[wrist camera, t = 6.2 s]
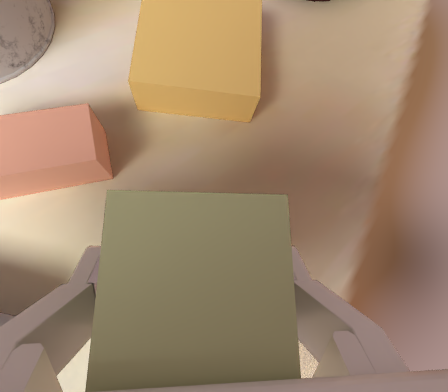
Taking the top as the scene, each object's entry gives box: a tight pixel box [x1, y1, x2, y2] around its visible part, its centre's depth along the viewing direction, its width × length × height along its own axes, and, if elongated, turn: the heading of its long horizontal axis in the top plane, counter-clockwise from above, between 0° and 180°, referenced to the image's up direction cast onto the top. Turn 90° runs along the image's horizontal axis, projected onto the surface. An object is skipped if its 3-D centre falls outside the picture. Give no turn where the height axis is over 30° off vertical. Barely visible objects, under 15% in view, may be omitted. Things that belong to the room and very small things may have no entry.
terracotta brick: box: [0, 103, 113, 200], centre depth 14 cm, size 6×3×3 cm, turn 104°
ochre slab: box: [128, 0, 262, 122], centre depth 16 cm, size 7×7×3 cm
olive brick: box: [85, 190, 301, 392], centre depth 10 cm, size 4×4×9 cm
